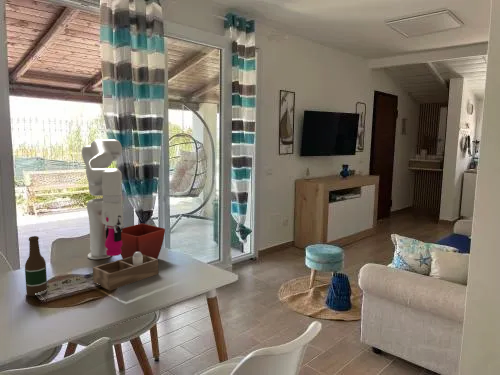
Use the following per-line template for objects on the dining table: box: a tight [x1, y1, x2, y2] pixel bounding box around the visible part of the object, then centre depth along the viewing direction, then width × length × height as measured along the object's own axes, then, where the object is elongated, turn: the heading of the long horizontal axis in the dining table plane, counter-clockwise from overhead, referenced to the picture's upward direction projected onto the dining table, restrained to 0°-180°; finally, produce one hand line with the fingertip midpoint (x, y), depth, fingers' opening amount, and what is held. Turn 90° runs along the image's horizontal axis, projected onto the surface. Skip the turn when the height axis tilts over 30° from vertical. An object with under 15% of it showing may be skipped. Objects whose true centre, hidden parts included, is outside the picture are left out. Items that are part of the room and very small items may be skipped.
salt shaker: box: [133, 252, 143, 266], centre depth 174 cm, size 4×4×11 cm
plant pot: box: [120, 223, 166, 259], centre depth 196 cm, size 19×19×17 cm
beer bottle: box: [24, 235, 48, 298], centre depth 153 cm, size 8×8×24 cm
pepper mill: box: [105, 217, 123, 257], centre depth 162 cm, size 7×7×20 cm
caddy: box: [92, 254, 159, 291], centre depth 170 cm, size 13×25×8 cm, turn 142°
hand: (113, 239), depth 162 cm, fingers closed on pepper mill, 5 cm apart
